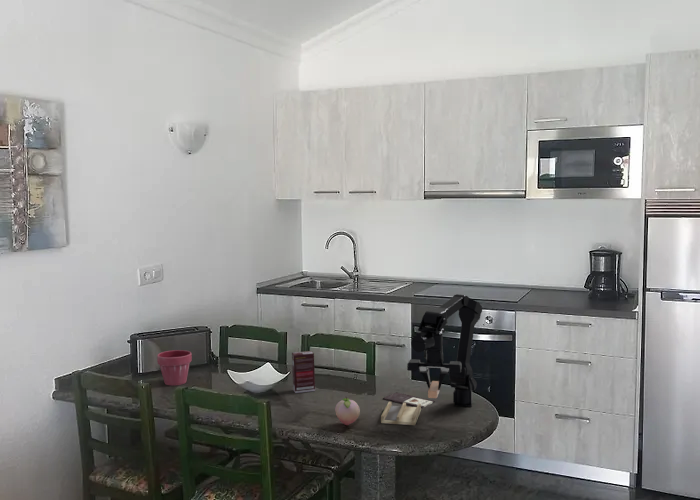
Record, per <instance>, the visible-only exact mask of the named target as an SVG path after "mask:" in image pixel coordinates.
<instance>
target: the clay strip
mask: <svg viewBox="0 0 700 500" xmlns="http://www.w3.org/2000/svg"><path fill="white" fill-rule="evenodd" d="M430 384H431V385H430V388H428V391H427V399H428V398H429V399H437V398H438V396H439V393H440V390H441V389H440V390H439V388H438V386H439V380H432V381H431V382H430Z"/></svg>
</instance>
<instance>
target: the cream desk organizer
mask: <svg viewBox="0 0 700 500" xmlns="http://www.w3.org/2000/svg"><path fill="white" fill-rule="evenodd" d="M392 403H393V402H392V401H388V403H387V405H386V406H385V408H384V410H383V412H382V414H381V416H380V423H381V424H387V425H388V424H391V425H407V426H416V423H417V421H418V418H419V416H420V414H421V410H422V408H421V404H419V403H418V405H417V407H414V406H407V405H406V403H403V404H402V405H393V404H392Z"/></svg>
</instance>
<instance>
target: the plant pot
mask: <svg viewBox="0 0 700 500" xmlns="http://www.w3.org/2000/svg"><path fill="white" fill-rule="evenodd" d="M192 355H193V354H192V352H191V351H189V350H182V349H178V350H177V349H174V350H166V351H162V352H160V353H157V357H156V359H157V365H158V366H159V368H160V372H161V374H162V379H163V383H164V385H166V386H180V385H184V384H186V383H187V379H188V374H189V371H190V365H191V364H190V363H191V362H192V359H193V357H192Z"/></svg>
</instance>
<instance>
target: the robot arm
mask: <svg viewBox="0 0 700 500" xmlns="http://www.w3.org/2000/svg"><path fill="white" fill-rule="evenodd" d="M457 312H458V318H459V320H460V323H461V325H460V326H461V327H460V334H459V341H458V348H457V353H456V355H457V356H456V360H454V361H453V360H450V361H449V363H444V352H443V333H446V329H444V327H445V326H446V325H447V324H448V319H449V318H450V317H451V316H453V315H454V314H455V313H457ZM482 313H483V307H482V305H481V303H480V302H479V301H476V300H474V299H473V298H470V297H468V295H466V294H458V293H457V294H454V295H453V296H452V298H450V299H449V300H447V301H446V302H445V303H443V304H442V305H440V306H439V307H435V308H432V309H428V310H426V311H425V312H424V313H423V316H422V319H421V321H420V324H419V327H418V329H417V332H416V333H415V336H413V338H412V339H411V342H410V343H411V347H412V350H414V352H416V353H422V352H423V357H424V359H425V360H426V361H425V362H421V359H414V358H413V359H412V358H410V360H408V362H407V365H406V367H407V368H406V369H407V371H408V372H409V371H410V372H417V370H418V369H419V370H418V371H419V373H418V374H421V375H422V376H423V379H424V381H425V383H426V385H427V388H428V389H429V388H430V385H431V377H430V369H437V370H440V372H439V377H438V379H439V380H438V381H439V386H438V388H439V390H441V387H442V385H443V381H444V379H445V376H448V379H449V381H448V382H449V385H450V388H453V389H454V390H453V391H452V392H453V399H452V400H453V401H452V402H453V404H454V406H455V407H456V406H457V407H472V406H473V391H474V392H475V391H476V389H477V386H478V382H477V380H476V379H475V378H474V377H473V372H474V371H473V368H472V366H471V362H470V361H471V357H472V356H471V355H472V347H473V339H474V335H475V334H474V332H475V326H476V324H477V323H478V322H479V321H480V319H481V315H482Z"/></svg>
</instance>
